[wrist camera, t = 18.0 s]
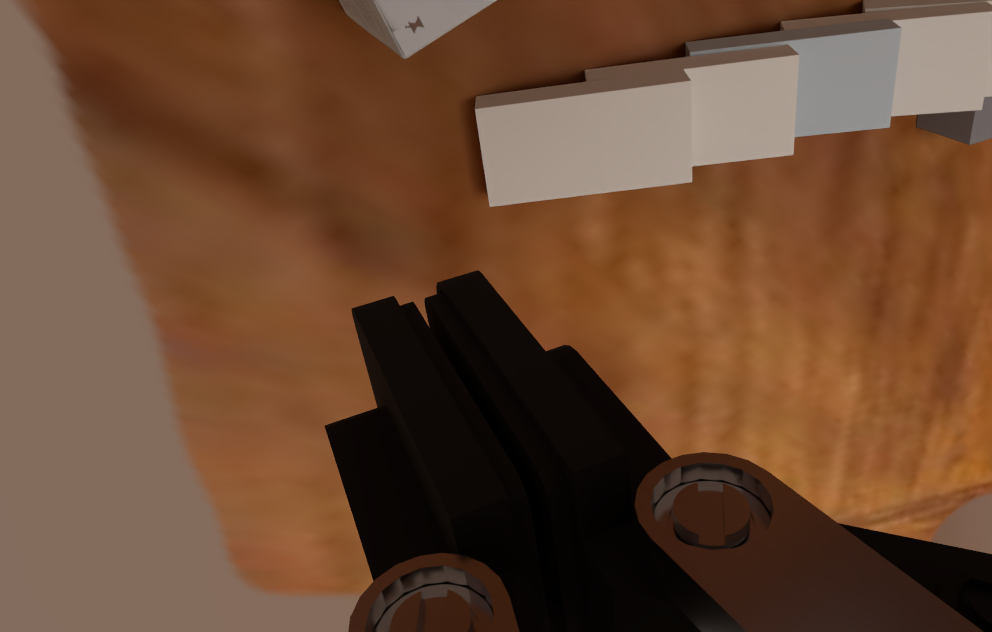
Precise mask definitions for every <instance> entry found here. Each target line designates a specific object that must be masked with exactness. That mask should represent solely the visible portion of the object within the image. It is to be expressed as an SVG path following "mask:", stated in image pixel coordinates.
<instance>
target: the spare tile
mask: <svg viewBox="0 0 992 632" xmlns="http://www.w3.org/2000/svg"><path fill="white" fill-rule="evenodd" d="M901 29H902V28H901V27H900V26H899V25H897V24H896V23H894V22H893V21H891V20H890V19H889V18H886V19H877V20H869V21H860V22H852V23H843V24H835V25H826V26H818V27H809V28H801V29H792V30H784V31H775V32H767V33H758V34H750V35H742V36H733V37H725V38H716V39H708V40H699V41H691V42H685V51H686V57H690V56H698V55H706V54H713V53H721V52H729V51H737V50H745V49H753V48H761V47H769V46H777V45H785V44H788V45H789V46H791V47H792V48H793V49H794V50H795V51H796V52H797V53H798V54H799V71H798V88H797V104H796V121H795V137H799V136H809V135H819V134H829V133H839V132H849V131H859V130H869V129H879V128H889V127H890V120H891V112H892V104H893V95H894V87H895V79H896V71H897V62H898V54H899V46H900V38H901Z"/></svg>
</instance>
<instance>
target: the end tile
mask: <svg viewBox="0 0 992 632" xmlns="http://www.w3.org/2000/svg"><path fill="white" fill-rule="evenodd" d="M475 114H476V120H477V127H478V133H479V140H480V146H481V153H482V160H483V166H484V173H485V179H486V186H487V192H488V199H489V205H490V207H493V206H501V205H509V204H517V203H525V202H534V201H542V200H550V199H558V198H566V197H574V196H583V195H591V194H599V193H607V192H615V191H624V190H632V189H640V188H648V187H656V186H664V185H673V184H681V183H689V182H692V111H691V80H690V78H689V77H688V75H687V74H686V72H685V71H684V69H677V70H670V71H662V72H655V73H647V74H640V75H632V76H625V77H617V78H610V79H602V80H595V81H587V82H580V83H572V84H565V85H557V86H550V87H542V88H535V89H527V90H520V91H512V92H504V93H497V94H489V95H482V96H476V102H475Z"/></svg>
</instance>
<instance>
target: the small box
mask: <svg viewBox="0 0 992 632" xmlns="http://www.w3.org/2000/svg"><path fill="white" fill-rule="evenodd" d="M495 1H497V0H339V2H340V4H341V6H342V7H343V9H344V11H345V13H346V14H347V15H348V16H349V17H350V18H351V19H352V20H354V21H355V22H356V23H357V24H359V25H360V26H361V27H362V28H364V29H365V30H366V31H368V32H369V33H370V34H372V35H373V36H374V37H376V38H377V39H378V40H380V41H381V42H382V43H384V44H385V45H387V46H388V47H389V48H390V49H392V50H393V51H394V52H396V53H397V54H398V55H400V56H401V57H402V58H403V59H407V58H409V57H410V56H412V55H413V54H415V53H416V52H418V51H419V50H421V49H422V48H424V47H425V46H427V45H429V44H430V43H432V42H433V41H435V40H436V39H438V38H439V37H441V36H442V35H444V34H446V33H447V32H449V31H450V30H452V29H453V28H455V27H456V26H458V25H459V24H461V23H462V22H464V21H466V20H467V19H469V18H470V17H472V16H473V15H475V14H476V13H478V12H480V11H481V10H483V9H484V8H486V7H487V6H489V5H491V4H492V3H494V2H495Z"/></svg>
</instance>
